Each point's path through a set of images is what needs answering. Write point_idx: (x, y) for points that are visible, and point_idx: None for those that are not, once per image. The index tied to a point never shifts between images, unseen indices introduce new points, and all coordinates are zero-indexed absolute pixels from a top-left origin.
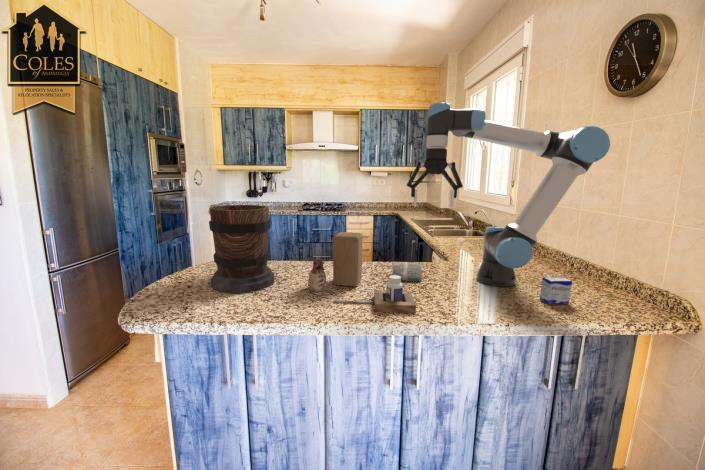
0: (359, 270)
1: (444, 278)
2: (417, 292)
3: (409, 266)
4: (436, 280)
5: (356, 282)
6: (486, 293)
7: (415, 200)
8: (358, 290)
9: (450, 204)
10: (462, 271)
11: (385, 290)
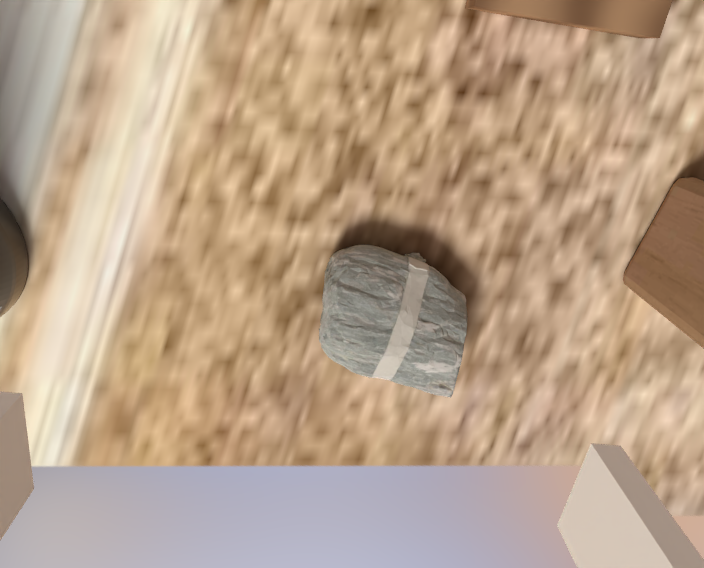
0: (693, 239)
1: (198, 288)
2: (402, 87)
3: (385, 326)
4: (249, 260)
5: (692, 181)
6: (32, 50)
7: (661, 520)
8: (682, 132)
9: (6, 468)
10: (73, 387)
11: (605, 25)
